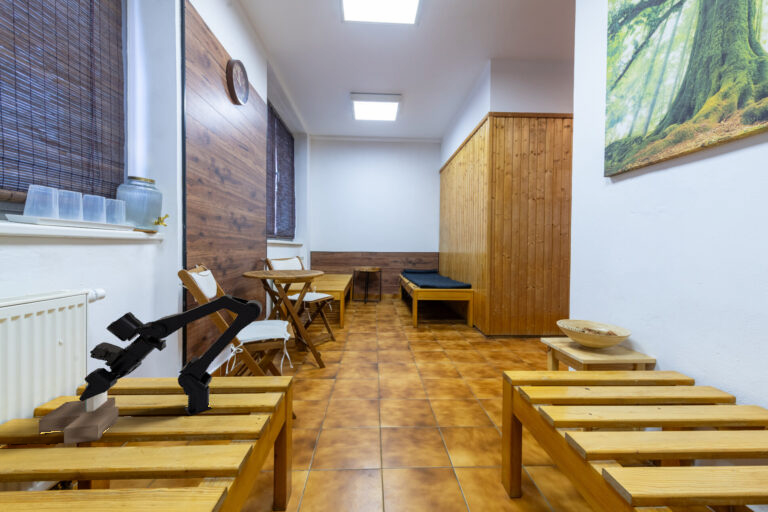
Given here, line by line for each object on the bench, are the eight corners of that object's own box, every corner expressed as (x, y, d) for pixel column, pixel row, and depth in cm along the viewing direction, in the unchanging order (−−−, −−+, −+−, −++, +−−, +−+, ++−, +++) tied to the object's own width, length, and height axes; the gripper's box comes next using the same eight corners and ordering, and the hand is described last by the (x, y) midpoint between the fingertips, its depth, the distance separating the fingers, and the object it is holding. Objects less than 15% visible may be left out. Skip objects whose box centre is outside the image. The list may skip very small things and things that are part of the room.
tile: (107, 400, 91) (107, 375, 91) (93, 411, 85) (93, 384, 85) (99, 401, 91) (99, 376, 91) (85, 412, 84) (85, 385, 84)
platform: (130, 408, 94) (130, 395, 94) (98, 439, 79) (98, 424, 79) (66, 415, 90) (66, 401, 90) (17, 450, 74) (17, 434, 74)
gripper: (130, 326, 98) (87, 363, 95) (93, 342, 80) (40, 389, 77) (158, 348, 100) (118, 385, 97) (129, 369, 82) (78, 415, 79)
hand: (91, 392), depth 87 cm, fingers open, 9 cm apart
